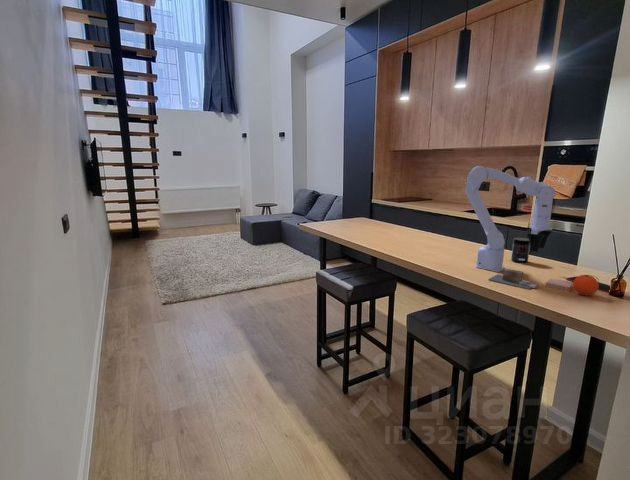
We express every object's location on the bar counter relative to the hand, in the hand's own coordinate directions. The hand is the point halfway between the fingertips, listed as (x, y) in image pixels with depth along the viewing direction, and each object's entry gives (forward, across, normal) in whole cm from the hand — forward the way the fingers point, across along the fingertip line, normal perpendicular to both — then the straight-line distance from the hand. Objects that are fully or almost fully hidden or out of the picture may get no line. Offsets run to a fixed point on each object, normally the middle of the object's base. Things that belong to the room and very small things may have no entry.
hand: (537, 249), depth 141 cm
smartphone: (+10, 0, -19) cm, 22 cm away
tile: (+9, -11, -8) cm, 17 cm away
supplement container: (+10, +14, +10) cm, 20 cm away
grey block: (+9, -19, -1) cm, 21 cm away
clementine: (+10, -14, -20) cm, 26 cm away
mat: (+10, -18, +2) cm, 21 cm away
